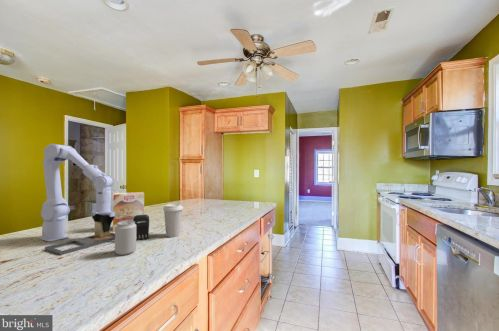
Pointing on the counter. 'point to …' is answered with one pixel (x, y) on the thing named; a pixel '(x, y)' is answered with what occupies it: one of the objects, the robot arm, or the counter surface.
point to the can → (125, 237)
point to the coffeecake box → (127, 206)
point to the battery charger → (141, 226)
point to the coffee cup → (173, 219)
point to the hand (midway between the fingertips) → (103, 230)
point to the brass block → (100, 230)
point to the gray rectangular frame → (84, 242)
